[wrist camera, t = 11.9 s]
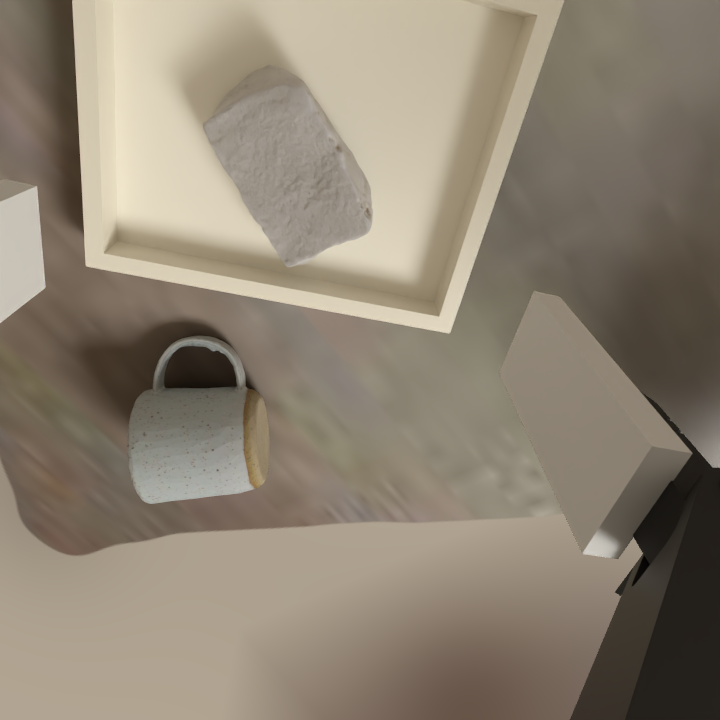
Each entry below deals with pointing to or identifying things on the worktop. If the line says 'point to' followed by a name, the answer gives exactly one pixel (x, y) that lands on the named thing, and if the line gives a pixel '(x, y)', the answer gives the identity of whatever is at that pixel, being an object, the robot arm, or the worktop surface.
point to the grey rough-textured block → (290, 165)
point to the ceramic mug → (197, 435)
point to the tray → (344, 110)
